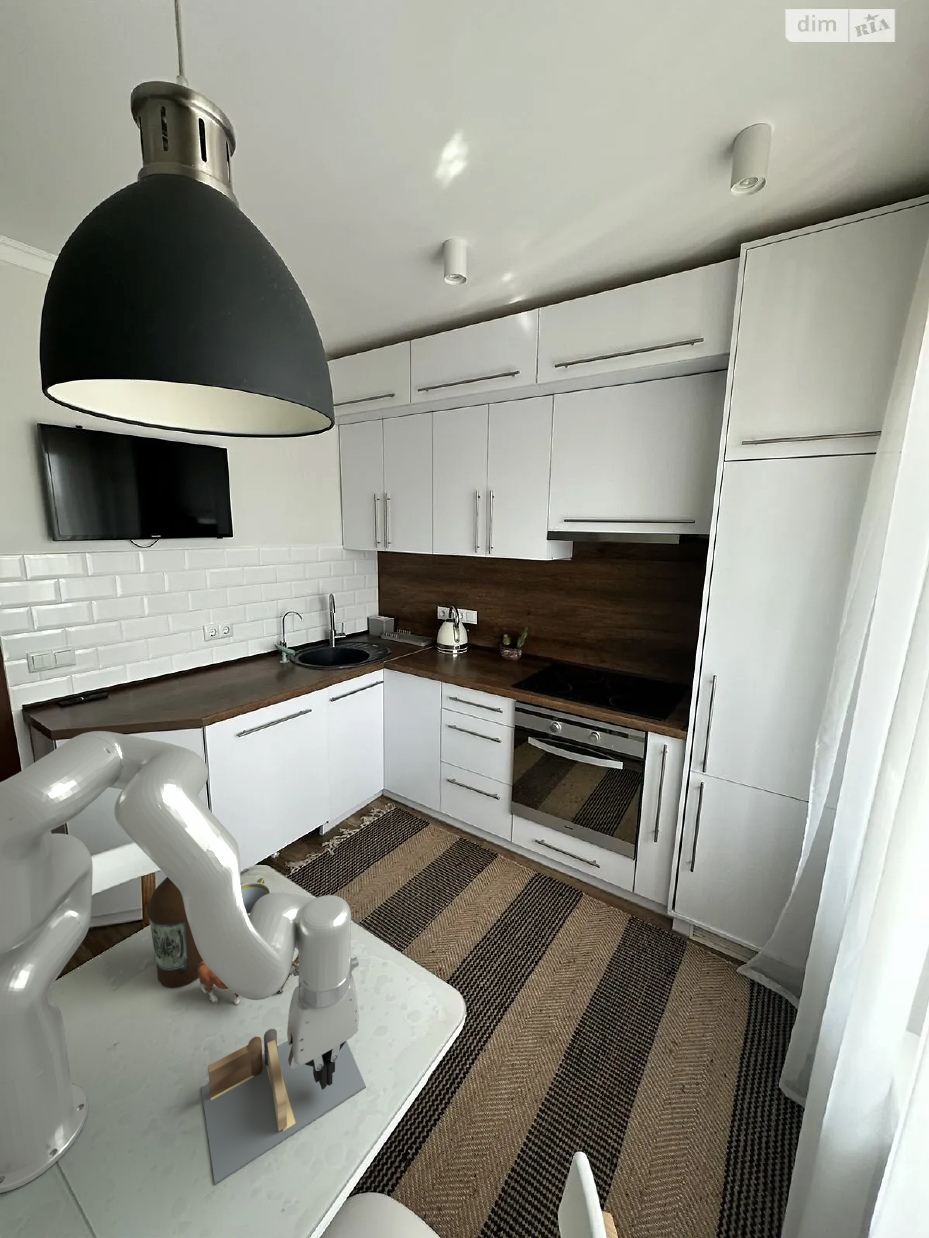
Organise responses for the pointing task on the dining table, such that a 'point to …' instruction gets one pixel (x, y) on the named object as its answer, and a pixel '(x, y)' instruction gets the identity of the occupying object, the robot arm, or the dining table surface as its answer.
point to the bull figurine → (212, 983)
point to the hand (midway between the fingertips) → (324, 1078)
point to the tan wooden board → (275, 1077)
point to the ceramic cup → (253, 893)
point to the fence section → (236, 1067)
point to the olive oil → (172, 937)
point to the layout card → (271, 1109)
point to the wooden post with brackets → (293, 966)
